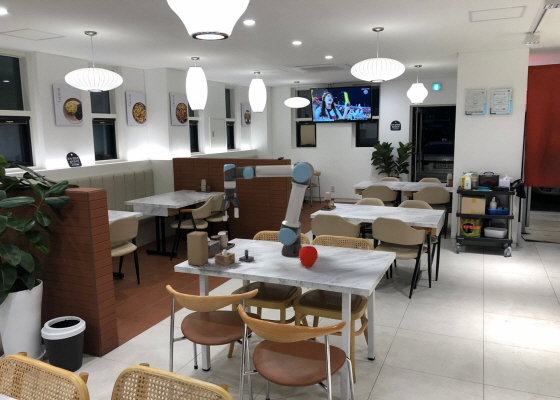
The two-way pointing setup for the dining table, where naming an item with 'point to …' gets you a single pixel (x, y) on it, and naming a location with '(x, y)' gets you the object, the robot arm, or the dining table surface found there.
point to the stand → (246, 257)
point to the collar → (225, 259)
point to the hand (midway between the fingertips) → (230, 219)
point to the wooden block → (197, 248)
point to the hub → (222, 265)
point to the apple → (308, 256)
